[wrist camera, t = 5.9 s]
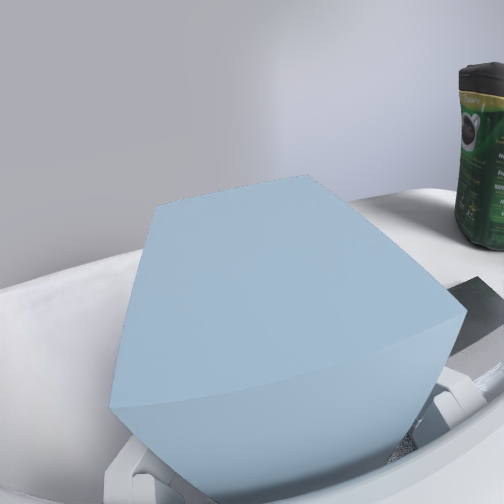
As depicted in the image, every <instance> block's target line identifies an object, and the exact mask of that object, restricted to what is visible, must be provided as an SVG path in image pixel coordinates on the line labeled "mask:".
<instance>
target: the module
mask: <svg viewBox="0 0 504 504" xmlns="http://www.w3.org/2000/svg"><path fill="white" fill-rule="evenodd" d="M466 313H467V309H466V308H465V307H464V306H463V305H462V304H461V303H460V302H459V301H458V300H457V299H456V298H455V297H454V296H453V295H452V294H451V293H450V292H449V291H447V290H446V289H445V288H444V287H443V286H442V285H441V284H440V283H439V282H438V281H437V280H436V279H435V278H434V277H433V276H432V275H431V274H429V273H428V272H427V271H426V270H425V269H424V268H423V267H422V266H421V265H420V264H418V263H417V262H416V261H415V260H414V259H413V258H412V257H411V256H409V255H408V254H407V253H406V252H405V251H404V250H403V249H401V248H400V247H399V246H398V245H397V244H396V243H394V242H393V241H392V240H391V239H390V238H389V237H387V236H386V235H385V234H384V233H383V232H381V231H380V230H379V229H378V228H376V227H375V226H374V225H373V224H372V223H370V222H369V221H368V220H367V219H365V218H364V217H363V216H362V215H360V214H359V213H358V212H356V211H355V210H354V209H353V208H351V207H350V206H349V205H347V204H346V203H345V202H344V201H342V200H341V199H340V198H338V197H337V196H335V195H334V194H333V193H331V192H330V191H329V190H328V189H326V188H325V187H324V186H322V185H321V184H319V183H318V182H317V181H315V180H314V179H313V178H311V177H309V176H308V175H302V176H297V177H290V178H285V179H279V180H274V181H268V182H263V183H258V184H253V185H247V186H242V187H237V188H233V189H228V190H223V191H218V192H214V193H209V194H205V195H200V196H196V197H192V198H188V199H183V200H179V201H175V202H170V203H167V204H162V205H159V206H157V208H156V211H155V214H154V217H153V220H152V224H151V226H150V230H149V233H148V236H147V239H146V243H145V246H144V249H143V253H142V256H141V259H140V263H139V267H138V270H137V274H136V277H135V281H134V285H133V289H132V293H131V297H130V301H129V305H128V309H127V313H126V318H125V322H124V326H123V331H122V336H121V340H120V345H119V350H118V355H117V360H116V366H115V371H114V377H113V383H112V389H111V396H110V402H109V409H110V410H111V411H112V412H113V413H114V414H115V415H116V416H117V417H118V418H119V419H120V421H121V422H122V423H123V424H124V425H125V426H126V427H127V428H128V429H129V430H130V431H131V432H132V433H133V434H134V435H135V436H136V437H137V438H138V439H139V440H140V441H141V442H143V443H144V444H145V445H146V446H147V447H148V448H149V449H150V450H151V451H152V452H153V453H154V454H156V455H157V456H158V457H159V458H160V459H161V460H162V461H164V462H165V463H166V464H167V465H168V466H169V467H171V468H172V469H173V470H174V471H175V472H177V473H178V474H179V475H180V476H182V477H183V478H184V479H185V480H187V481H188V482H189V483H191V484H192V485H193V486H195V487H196V488H197V489H199V490H200V491H201V492H203V493H204V494H205V495H207V496H208V497H210V498H211V499H212V500H214V501H215V502H217V503H218V504H264V503H269V502H274V501H278V500H283V499H287V498H291V497H295V496H299V495H303V494H306V493H310V492H313V491H317V490H320V489H323V488H327V487H330V486H333V485H336V484H339V483H341V482H344V481H347V480H350V479H353V478H355V477H358V476H360V475H363V474H365V473H368V472H370V471H373V470H375V469H377V468H380V467H382V466H384V465H385V464H386V462H387V461H388V460H389V458H390V457H391V455H392V454H393V453H394V451H395V450H396V448H397V447H398V445H399V444H400V442H401V441H402V439H403V438H404V436H405V435H406V433H407V432H408V430H409V429H410V427H411V426H412V424H413V422H414V421H415V419H416V417H417V416H418V414H419V412H420V411H421V409H422V407H423V406H424V404H425V402H426V400H427V398H428V397H429V395H430V393H431V391H432V389H433V387H434V385H435V384H436V382H437V380H438V378H439V376H440V374H441V372H442V370H443V368H444V365H445V363H446V361H447V359H448V357H449V355H450V352H451V350H452V348H453V346H454V343H455V341H456V339H457V336H458V334H459V331H460V329H461V326H462V324H463V321H464V318H465V316H466Z"/></svg>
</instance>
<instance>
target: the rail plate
mask: <svg viewBox="0 0 504 504" xmlns="http://www.w3.org/2000/svg"><path fill="white" fill-rule="evenodd" d="M447 291H449V292H450V293H451V294H452V295H453V296H454V297H455V298H456V299H457V300H458V301H459V302H460V303H461V304H462V305H463V306H464V307H465V308H466V309H467V313H466V316H465V318H464V321H463V324H462V326H461V329H460V331H459V334H458V336H457V339H456V341H455V343H454V346H453V348H452V350H451V352H450V355H449V357H448V359H447V361H446V363H445V365H444V366H446V367H448V368H450V369H453V370H455V371H457V372H460V373H462V374H465V375H467V376H469V377H470V379H471V380H472V381H473V383H474V384H475V386H476V387H477V388H478V390H479V391H480V392H481V394H482V395H483V397H484V398H485V399H486V401H487V402H488V404H489V403H491V402H492V401H493V400H494V399H496V398H497V397H498V396H499V395H501V394H502V393H503V392H504V299H503V298H501V297H500V296H499V295H498V294H497V293H496V292H495V291H494V290H493V289H492V288H490V287H489V286H488V285H487V284H486V283H485V282H484V281H482V280H481V279H480V278H479V277H478V276H477V277H475V278H472V279H470V280H468V281H466V282H463V283H461V284H459V285H456V286H454V287H452V288H449V289H447ZM419 422H420V420H419V419H417V418H416V419H415V421H414V422H413V424H412V426H411V427H410V429H409V430H408V432H407V433H408V435H409V436H410V438H411V440H412V442H413V444H414V446H415V448H416V450H417V449H419V448H418V446H417V444H416V442H415V440H414V438H413V437H412V434H413V431H414V430H415V428H416V427H417V425H418V424H419Z"/></svg>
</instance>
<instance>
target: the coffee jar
mask: <svg viewBox="0 0 504 504" xmlns="http://www.w3.org/2000/svg"><path fill="white" fill-rule="evenodd" d="M459 90H460V91H459V97H460V104H461V116H462V139H461V157H460V171H459V179H458V180H459V181H458V188H457V195H456V203H455V211H454V214H455V218H456V221H457V223H458V225H459V227H460V229H461V230H462V232H463V233H464V234H465V236H466V237H467V238H468V239H469V240H470V241H471V242H473V243H476V244H479V245H482V246H485V247H488V248H489V249H492V250H504V64H502V63H498V62H492V63H484V64H477V65H468V66H467V67H466V68H463V69H461V70H460V71H459Z"/></svg>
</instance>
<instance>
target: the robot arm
mask: <svg viewBox="0 0 504 504" xmlns="http://www.w3.org/2000/svg"><path fill="white" fill-rule="evenodd" d="M416 418H417V419H419V420H420V422H419V424H418V425H417V427H416V428H415V430H414V431H413V434H412V437H413V438H414V440H415V442H416V444H417V446H418V448H419V449H417V450H415V451H413V452H411V453H409V454H407V455H405V456H403V457H401V458H399V459H397V460H395V461H393V462H391V463H389V464H386V465H384V466H382V467H380V468H377V469H375V470H373V471H370V472H368V473H365V474H363V475H360V476H358V477H355V478H353V479H350V480H347V481H344V482H341V483H339V484H336V485H333V486H330V487H327V488H323V489H320V490H317V491H313V492H310V493H306V494H303V495H299V496H295V497H291V498H287V499H283V500H278V501H274V502H269V503H264V504H504V392H503V393H502V394H501V395H499V396H498V397H497V398H496V399H494V400H493V401H492V402H491V403H489V404H488V402H487V401H486V399H485V398H484V397H483V395H482V394H481V392H480V391H479V390H478V388H477V387H476V386H475V384H474V383H473V381H472V380H471V379H470V377H469V376H467V375H465V374H462V373H460V372H457V371H455V370H453V369H450V368H448V367H446V366H444V368H443V370H442V372H441V374H440V376H439V378H438V380H437V382H436V384H435V385H434V387H433V389H432V391H431V393H430V395H429V397H428V398H427V400H426V402H425V404H424V406H423V407H422V409H421V411H420V412H419V414H418V416H417V417H416ZM174 474H175V471H174V470H173V469H172V468H171V467H169V466H168V465H167V464H166V463H165V462H164V461H162V460H161V459H160V458H159V457H158V456H157V455H156V454H154V453H153V452H152V451H151V450H150V449H149V448H148V447H147V446H146V445H145V444H144V443H143V442H141V441H140V440H139V439H138V438H137V437H136V436H135V435H134V434H132V435H131V437H130V438H129V440H128V441H127V442H126V444H125V445H124V446H123V448H122V449H121V450H120V452H119V453H118V455H117V456H116V457H115V459H114V460H113V461H112V463H111V464H110V466H109V467H108V468H107V470H106V471H105V476H104V499H103V504H185V501H184V497H183V496H182V495H181V494H179V493H177V492H176V491H174V490H173V489H171V488H170V487H168V486H169V484H170V482H171V480H172V478H173V476H174ZM0 504H64V503H59V502H54V501H50V500H46V499H42V498H38V497H34V496H31V495H27V494H24V493H21V492H18V491H14V490H11V489H8V488H6V487H3V486H0Z"/></svg>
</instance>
